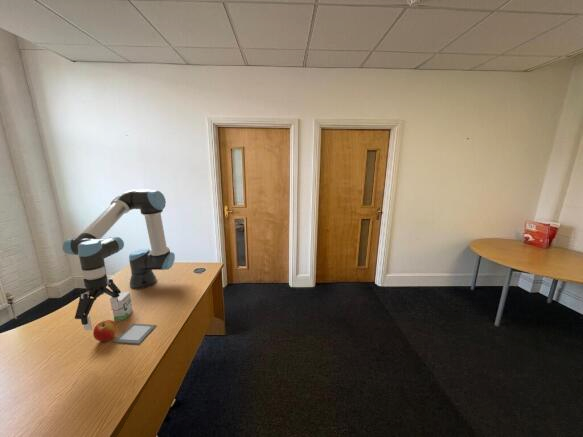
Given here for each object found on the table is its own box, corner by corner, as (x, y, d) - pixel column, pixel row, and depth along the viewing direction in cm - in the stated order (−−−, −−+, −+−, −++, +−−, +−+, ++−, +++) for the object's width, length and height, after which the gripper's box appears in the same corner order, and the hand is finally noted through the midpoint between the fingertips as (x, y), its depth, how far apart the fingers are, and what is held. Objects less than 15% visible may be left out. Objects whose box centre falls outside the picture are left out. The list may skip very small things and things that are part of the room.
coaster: (133, 324, 113) (133, 323, 113) (156, 325, 112) (156, 324, 112) (113, 342, 101) (113, 341, 101) (139, 344, 101) (139, 343, 100)
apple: (121, 331, 108) (118, 313, 106) (112, 344, 100) (108, 325, 98) (102, 333, 106) (98, 315, 104) (91, 346, 99) (87, 327, 96)
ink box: (124, 320, 115) (121, 300, 113) (113, 321, 115) (110, 301, 112) (133, 310, 124) (130, 291, 121) (123, 310, 123) (120, 291, 120)
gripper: (111, 263, 108) (117, 302, 113) (55, 290, 84) (66, 338, 88) (125, 264, 108) (131, 303, 112) (74, 292, 84) (84, 340, 88)
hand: (102, 319), depth 101 cm, fingers open, 13 cm apart
